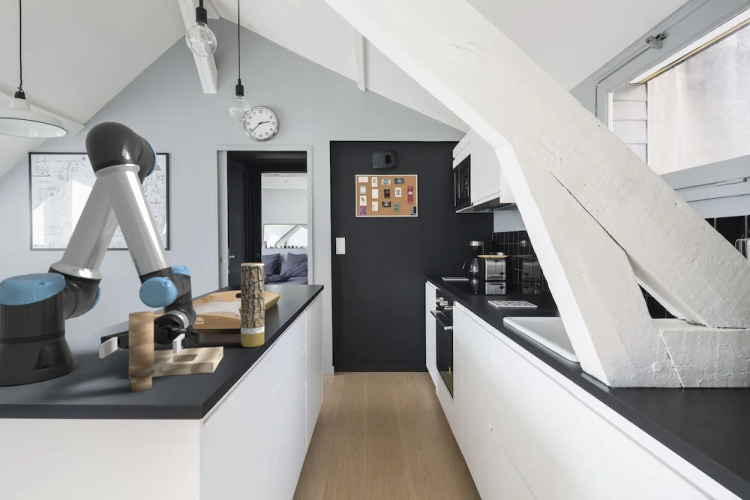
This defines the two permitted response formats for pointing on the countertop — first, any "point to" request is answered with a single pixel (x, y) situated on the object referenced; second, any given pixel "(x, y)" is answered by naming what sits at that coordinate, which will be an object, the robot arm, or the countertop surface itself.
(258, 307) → the paper tube
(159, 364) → the board
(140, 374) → the peg
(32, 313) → the robot arm
